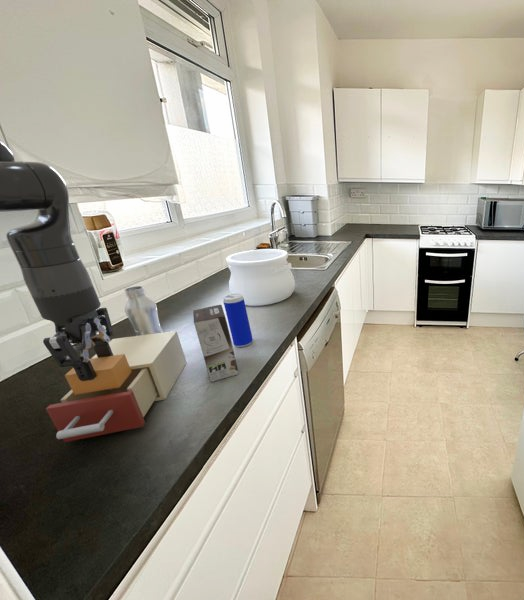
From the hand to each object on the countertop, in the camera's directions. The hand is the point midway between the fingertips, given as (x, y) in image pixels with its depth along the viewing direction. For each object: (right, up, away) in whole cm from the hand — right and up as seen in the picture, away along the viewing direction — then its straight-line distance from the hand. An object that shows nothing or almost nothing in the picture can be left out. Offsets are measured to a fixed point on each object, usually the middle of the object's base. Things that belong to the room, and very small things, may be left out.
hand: (98, 369), depth 60 cm
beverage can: (+12, 0, +33) cm, 35 cm away
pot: (+3, +15, +68) cm, 70 cm away
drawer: (0, -10, +4) cm, 11 cm away
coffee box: (+13, -5, +20) cm, 24 cm away
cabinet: (-3, -7, +15) cm, 17 cm away
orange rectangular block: (0, -3, +1) cm, 3 cm away
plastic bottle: (-9, -2, +27) cm, 28 cm away
